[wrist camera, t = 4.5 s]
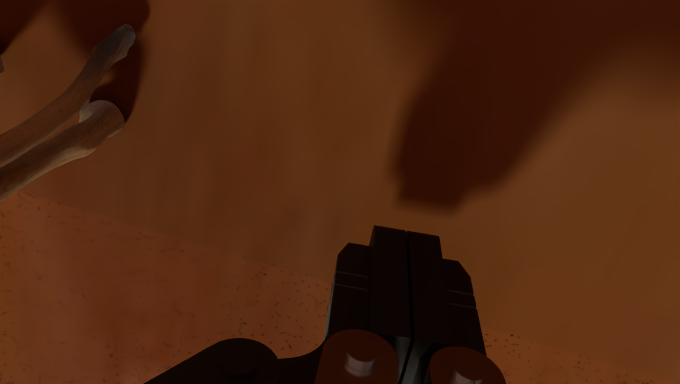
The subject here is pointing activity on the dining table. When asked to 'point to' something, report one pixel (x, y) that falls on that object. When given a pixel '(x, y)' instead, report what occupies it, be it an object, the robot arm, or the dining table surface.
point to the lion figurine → (65, 121)
